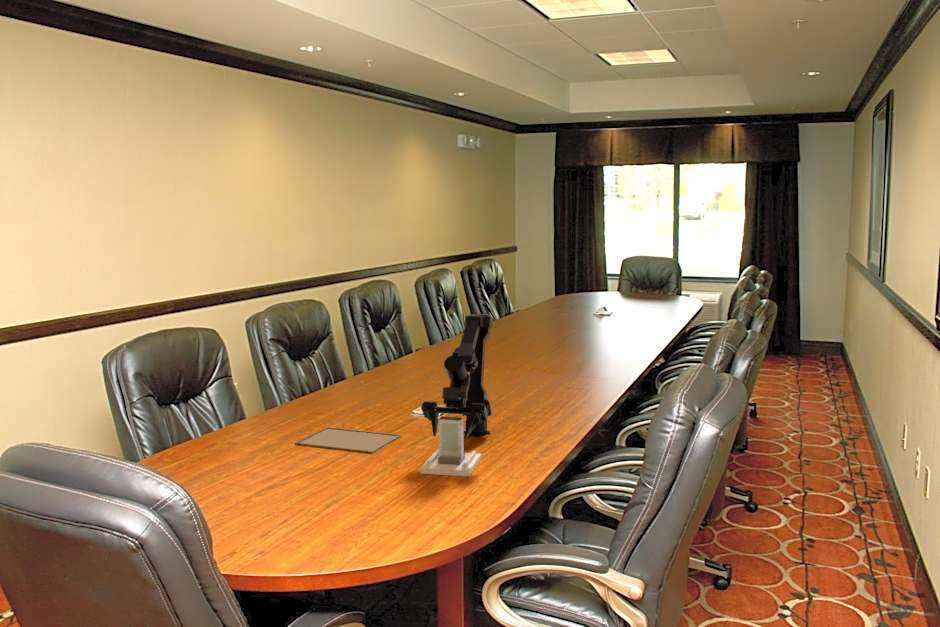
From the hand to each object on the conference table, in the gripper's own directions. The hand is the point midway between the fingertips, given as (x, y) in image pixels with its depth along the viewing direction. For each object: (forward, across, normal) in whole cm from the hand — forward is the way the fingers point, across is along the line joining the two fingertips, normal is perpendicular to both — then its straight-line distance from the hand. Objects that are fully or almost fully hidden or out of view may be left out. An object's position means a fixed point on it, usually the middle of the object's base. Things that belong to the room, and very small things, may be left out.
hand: (449, 436), depth 237 cm
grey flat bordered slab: (-7, -38, +21) cm, 44 cm away
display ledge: (+5, 0, +7) cm, 9 cm away
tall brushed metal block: (+4, 0, +6) cm, 8 cm away
